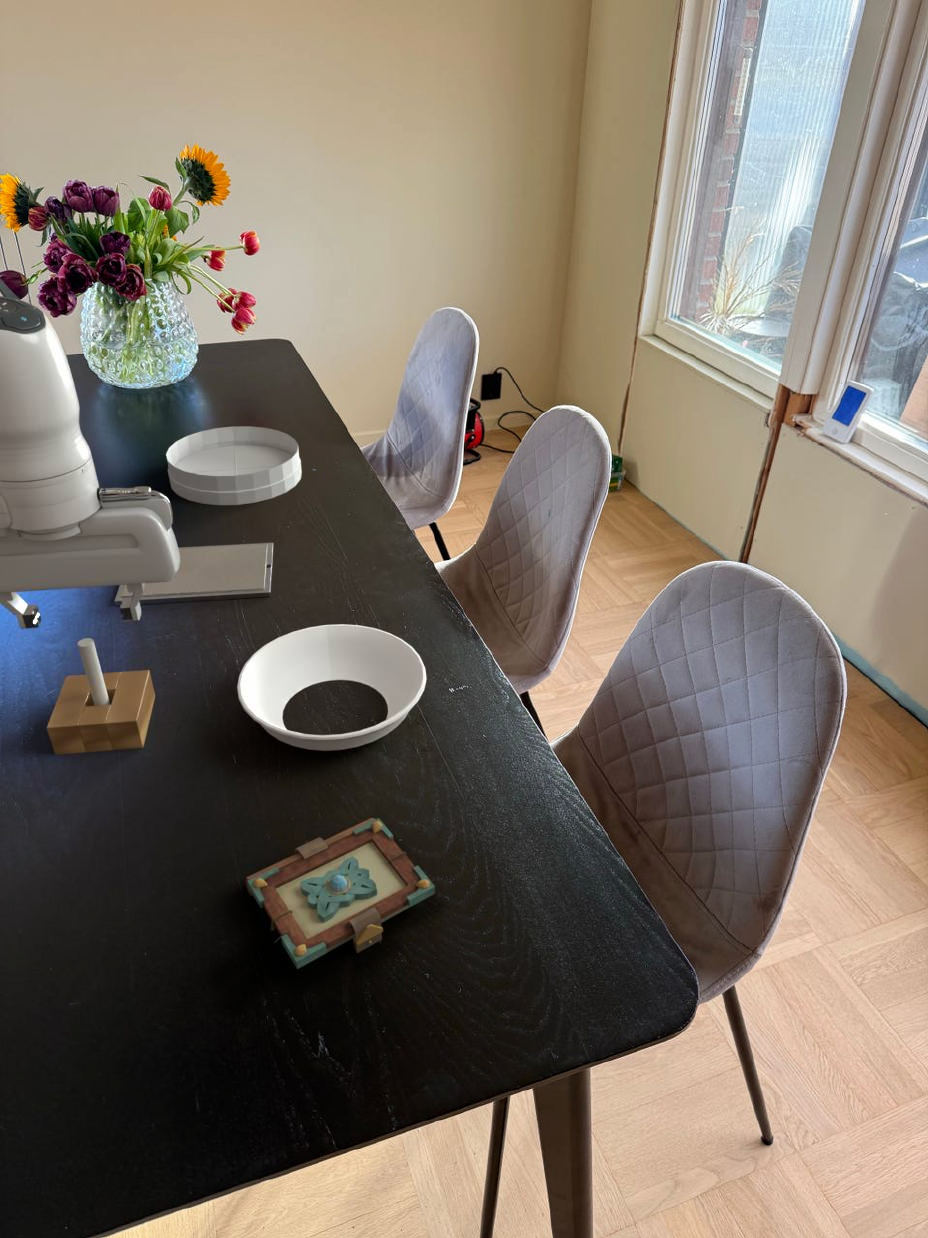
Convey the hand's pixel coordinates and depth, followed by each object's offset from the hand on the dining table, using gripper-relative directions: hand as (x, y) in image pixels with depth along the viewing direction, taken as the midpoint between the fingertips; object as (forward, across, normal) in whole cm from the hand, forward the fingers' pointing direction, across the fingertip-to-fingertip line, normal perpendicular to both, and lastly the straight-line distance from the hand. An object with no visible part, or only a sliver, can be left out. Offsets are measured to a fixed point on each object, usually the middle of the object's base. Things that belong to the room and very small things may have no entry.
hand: (82, 621), depth 83 cm
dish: (+15, -9, -66) cm, 68 cm away
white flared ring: (+15, -24, +1) cm, 28 cm away
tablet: (+14, -6, -33) cm, 37 cm away
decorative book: (+15, -22, +28) cm, 38 cm away
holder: (+14, 0, 0) cm, 15 cm away
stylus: (+14, 0, 0) cm, 15 cm away
